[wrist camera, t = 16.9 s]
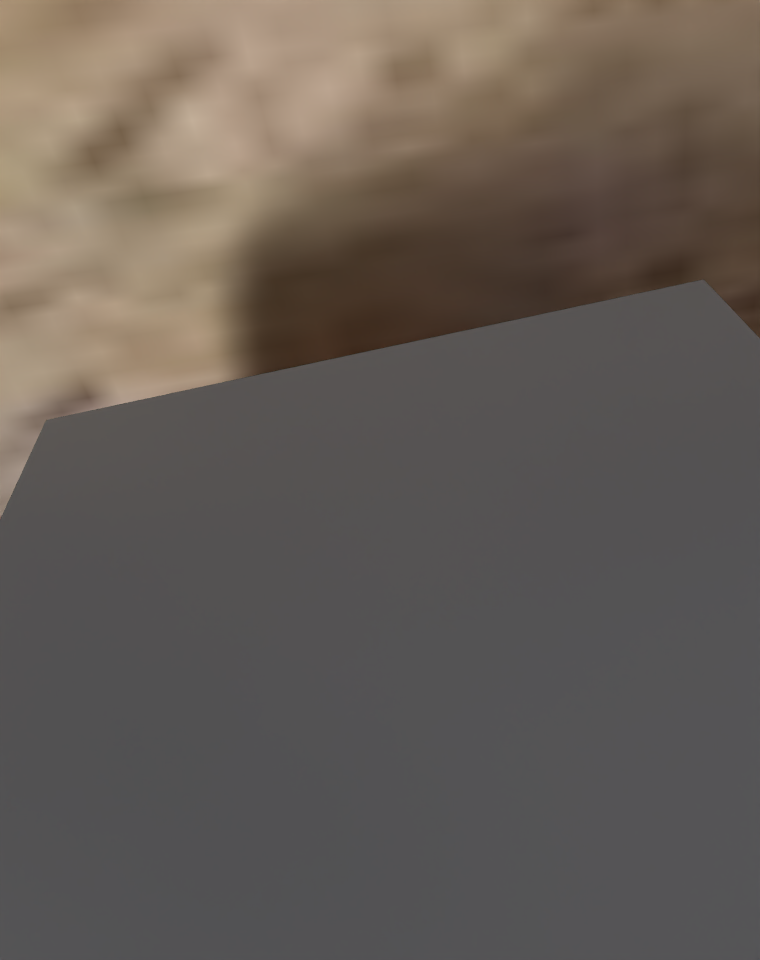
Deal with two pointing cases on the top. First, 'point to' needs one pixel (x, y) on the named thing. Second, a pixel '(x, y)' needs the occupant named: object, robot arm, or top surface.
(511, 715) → the gray tilted carton
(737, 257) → the top surface
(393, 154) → the top surface
